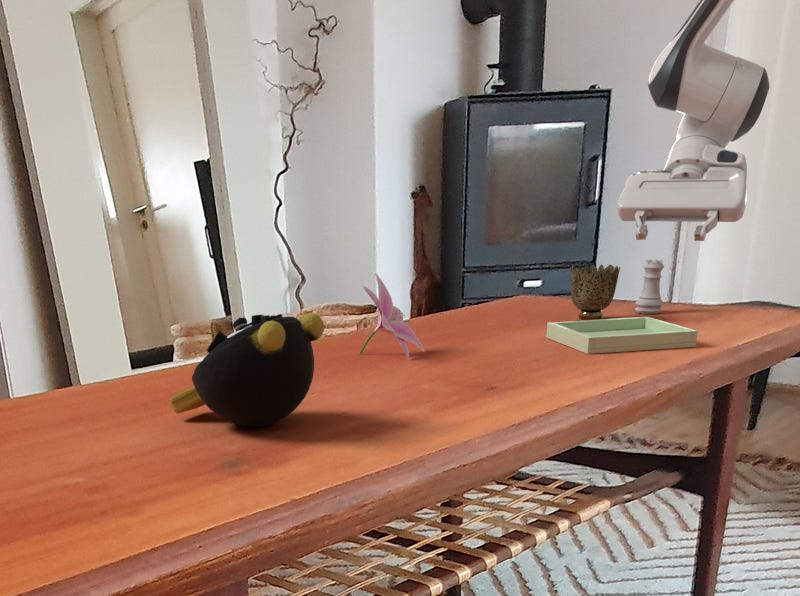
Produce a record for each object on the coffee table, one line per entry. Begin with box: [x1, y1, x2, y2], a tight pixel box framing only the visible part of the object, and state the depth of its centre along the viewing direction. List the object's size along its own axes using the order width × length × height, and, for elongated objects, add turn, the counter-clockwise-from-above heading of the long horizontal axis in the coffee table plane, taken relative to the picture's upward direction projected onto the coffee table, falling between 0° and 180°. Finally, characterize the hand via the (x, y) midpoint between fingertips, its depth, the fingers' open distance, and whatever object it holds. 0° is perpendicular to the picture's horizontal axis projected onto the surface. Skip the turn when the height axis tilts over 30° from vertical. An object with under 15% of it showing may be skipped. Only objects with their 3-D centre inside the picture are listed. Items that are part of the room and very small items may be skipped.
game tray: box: [545, 316, 699, 355], centre depth 134 cm, size 16×14×2 cm
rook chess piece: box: [634, 259, 665, 315], centre depth 156 cm, size 4×4×8 cm
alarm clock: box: [169, 312, 325, 428], centre depth 96 cm, size 12×15×15 cm
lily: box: [359, 273, 425, 360], centre depth 129 cm, size 12×12×10 cm
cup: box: [569, 264, 621, 321], centre depth 151 cm, size 8×7×8 cm
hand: (669, 238), depth 159 cm, fingers open, 8 cm apart
